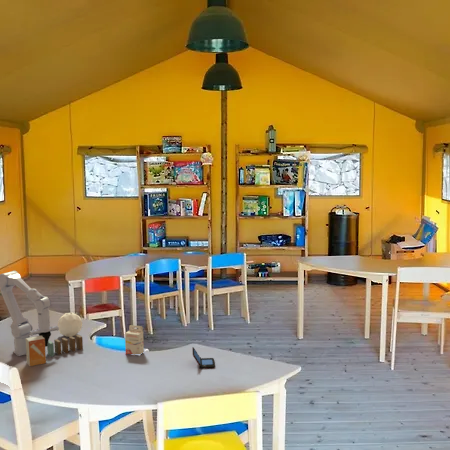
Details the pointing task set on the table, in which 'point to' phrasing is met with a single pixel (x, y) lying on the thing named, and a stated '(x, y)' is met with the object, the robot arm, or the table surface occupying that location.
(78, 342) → the domino
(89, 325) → the table surface
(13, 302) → the robot arm
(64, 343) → the domino
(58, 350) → the domino
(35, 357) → the small box
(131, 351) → the ink cartridge box
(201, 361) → the handheld game console
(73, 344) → the domino
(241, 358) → the table surface
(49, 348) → the domino
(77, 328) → the geodesic sphere
